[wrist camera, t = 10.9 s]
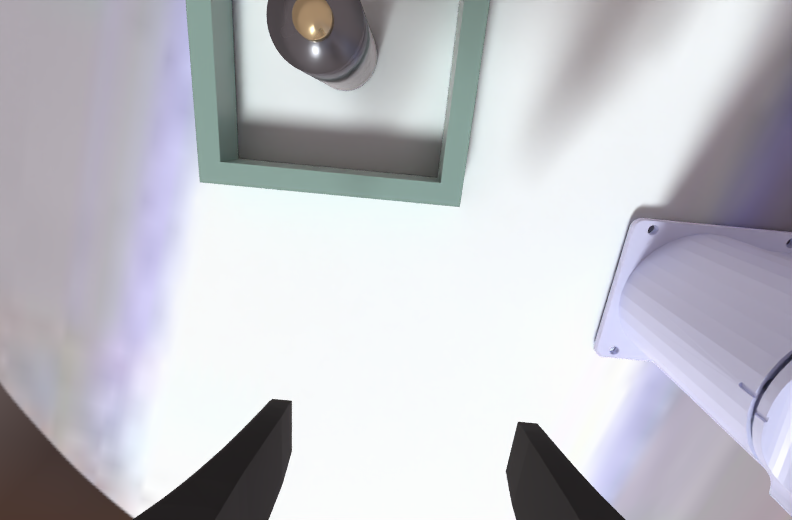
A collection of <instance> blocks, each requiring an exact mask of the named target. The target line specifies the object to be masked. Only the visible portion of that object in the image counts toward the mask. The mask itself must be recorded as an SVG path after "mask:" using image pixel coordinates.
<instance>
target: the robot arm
mask: <svg viewBox="0 0 792 520" xmlns="http://www.w3.org/2000/svg"><path fill="white" fill-rule="evenodd" d="M652 225H654V229H653V231H652V232H650V233H648V229H649V227H650V226H652ZM788 240H790V242H789V243H788V244H787V245H786V243H787V242H788ZM612 347H615V349H614V350H612V351H610V349H611V348H612ZM594 351H595V352H596V353H597V354H598V355H599V356H601V357H609V358H619V359H630V360H641V361H651V362H654V363H655V364H656V365H657V366H658V367H659V368H660V369H661V370H662V371H663V372H664V373H665V374H666V375H667V376H668V377H669V378H670V379H671V380H672V381H673V382H675V383H676V384H677V385H678V386H679V387H680V388H681V389H682V390H683V391H684V392H685V393H686V394H687V395H688V396H689V397H690V398H691V399H692V400H693V401H694V402H695V403H697V404H698V405H699V406H700V407H701V408H702V409H703V410H704V411H705V412H706V413H707V414H708V415H709V416H710V417H711V418H712V419H713V420H714V421H715V422H716V423H717V424H719V425H720V426H721V427H722V428H723V429H724V430H725V431H726V432H727V433H728V434H729V435H730V436H731V437H732V438H733V439H734V440H735V441H736V442H737V443H738V444H739V445H741V446H742V447H743V448H744V449H745V450H746V451H747V452H748V453H749V454H750V455H751V456H752V457H753V458H754V459H755V460H756V461H757V462H758V463H759V464H760V465H762V466H763V467H764V468H765V469H766V471H767V472H768V474H769V476H770V479H771V487H770V491H769V494H770V495H771V496H772V497H773V498H774V499H775V500H776V501H777V502H778V503H779V504H780V505H781V506H782V507H783V509H784V510H785V511H786V512H787V513H788V514H789V515H790V516H791V517H792V232H785V231H775V230H764V229H754V228H743V227H733V226H722V225H712V224H701V223H691V222H680V221H670V220H659V219H649V218H638V219H636V220H634V221H633V222H632V223H631V225H630V227H629V230H628V234H627V237H626V240H625V244H624V247H623V250H622V254H621V257H620V260H619V264H618V267H617V270H616V273H615V277H614V280H613V283H612V287H611V290H610V293H609V297H608V300H607V303H606V307H605V310H604V313H603V317H602V320H601V323H600V327H599V330H598V333H597V337H596V340H595V343H594ZM291 452H292V401H288V400H278V399H272V400H271V401H269V402H268V403H267V404H266V406H265V407H264V408H263V409H262V410H261V411H260V412H259V413H258V414H257V415H256V416H255V417H254V418H253V419H252V420H251V421H250V422H249V423H248V424H247V425H246V426H245V427H244V428H243V429H242V430H241V431H240V432H239V433H238V434H237V435H236V436H235V437H234V438H233V439H232V440H231V441H230V442H229V443H228V444H227V445H226V446H225V447H224V448H223V449H222V450H221V451H219V452H218V453H217V454H216V455H215V456H214V457H213V458H212V459H210V460H209V461H208V462H207V463H206V464H205V465H204V466H202V467H201V468H200V469H199V470H198V471H197V472H196V473H194V474H193V475H192V476H191V477H189V478H188V479H187V480H186V481H185V482H183V483H182V484H181V485H180V486H178V487H177V488H176V489H174V490H173V491H172V492H170V493H169V494H168V495H167V496H165V497H164V498H163V499H161V500H160V501H159V502H157V503H156V504H154V505H153V506H151V507H150V508H149V509H147V510H146V511H144V512H143V513H142V514H140V515H139V516H137V517H136V518H134V519H133V520H268V519H269V517H270V514H271V512H272V509H273V507H274V504H275V502H276V499H277V497H278V494H279V492H280V489H281V487H282V484H283V480H284V477H285V473H286V470H287V466H288V463H289V459H290V456H291ZM506 474H507V480H508V486H509V491H510V496H511V501H512V506H513V510H514V513H515V517H516V520H625V519H624V518H623V517H622V516H621V515H620V514H619V513H618V512H617V511H616V510H615V509H614V508H613V507H612V506H611V505H610V504H609V503H608V502H607V501H606V500H605V499H604V498H603V497H602V496H601V495H600V494H599V493H598V492H597V491H596V490H595V488H594V487H593V486H592V485H591V484H590V483H589V482H588V481H587V480H586V479H585V478H584V477H583V476H582V474H581V473H580V472H579V471H578V470H577V469H576V468H575V467H574V466H573V464H572V463H571V462H570V461H569V460H568V459H567V458H566V456H565V455H564V454H563V453H562V452H561V451H560V449H559V448H558V447H557V446H556V445H555V444H554V442H553V441H552V440H551V439H550V438H549V437H548V435H547V434H546V433H545V432H544V431H543V430H542V429H541V427H540V426H539V425H538V424H536V423H525V422H518V424H517V428H516V432H515V436H514V440H513V444H512V448H511V453H510V457H509V461H508V465H507V469H506Z"/></svg>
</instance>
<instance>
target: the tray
mask: <svg viewBox="0 0 792 520" xmlns="http://www.w3.org/2000/svg"><path fill="white" fill-rule="evenodd" d="M489 4H490V0H460V1H459V9H458V18H457V26H456V34H455V42H454V50H453V58H452V66H451V74H450V82H449V90H448V98H447V106H446V114H445V122H444V130H443V138H442V146H441V154H440V162H439V170H438V178H437V177H427V176H416V175H406V174H396V173H385V172H375V171H364V170H354V169H343V168H333V167H322V166H312V165H301V164H291V163H280V162H270V161H259V160H249V159H239V154H238V131H237V108H236V86H235V63H234V40H233V18H232V0H186V11H187V24H188V36H189V49H190V62H191V75H192V88H193V100H194V113H195V126H196V139H197V151H198V164H199V177H200V182H203V183H214V184H224V185H235V186H245V187H256V188H266V189H277V190H287V191H298V192H308V193H319V194H329V195H340V196H350V197H361V198H371V199H382V200H392V201H403V202H413V203H424V204H434V205H445V206H455V207H460V201H461V195H462V188H463V181H464V174H465V167H466V161H467V154H468V147H469V140H470V133H471V127H472V120H473V113H474V106H475V100H476V93H477V86H478V79H479V72H480V66H481V59H482V52H483V45H484V38H485V32H486V25H487V18H488V11H489Z"/></svg>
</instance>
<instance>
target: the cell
mask: <svg viewBox="0 0 792 520" xmlns="http://www.w3.org/2000/svg"><path fill="white" fill-rule="evenodd" d="M267 24H268V30H269V33H270V36H271V39H272V41H273V43H274V45H275V47H276V49H277V50H278V52H279V53H280V54H281V56H282V57H283V58H284V59H285V60H286V61H287V62H288V63H290V64H291V65H292V66H294V67H295V68H297V69H299V70H301V71H303V72H305V73H306V74H308V75H310V76H312V77H314V78H316V79H318V80H319V81H321V82H323V83H325V84H327V85H329V86H330V87H332V88H334V89H337V90H342V91H350V90H355V89H357V88H359V87H361V86H363V85H364V84H365V83H366V82H367V81H368V80H369V79H370V78H371V76H372V74H373V73H374V70H375V67H376V64H377V48H376V44H375V41H374V38H373V35H372V32H371V30H370V27H369V24H368V21H367V19H366V16H365V13H364V11H363V8H362V5H361V2H360V0H268V5H267Z"/></svg>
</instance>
